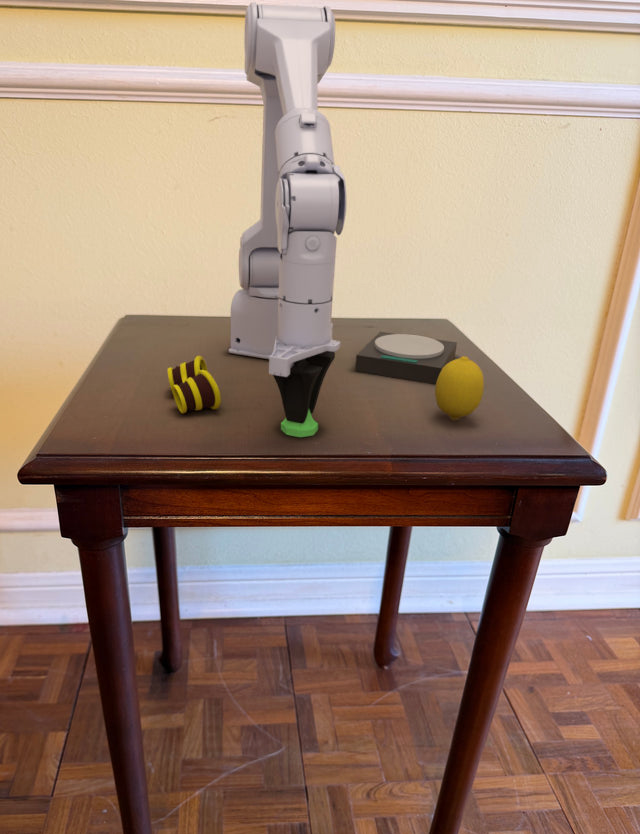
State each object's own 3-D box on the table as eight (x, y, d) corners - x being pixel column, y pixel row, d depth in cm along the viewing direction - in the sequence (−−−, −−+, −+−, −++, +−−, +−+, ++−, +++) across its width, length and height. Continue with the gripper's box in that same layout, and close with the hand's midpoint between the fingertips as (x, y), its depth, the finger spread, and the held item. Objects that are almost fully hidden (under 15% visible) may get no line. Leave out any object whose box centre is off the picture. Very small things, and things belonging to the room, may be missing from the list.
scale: (355, 371, 97) (356, 350, 96) (378, 346, 108) (380, 327, 107) (438, 384, 94) (442, 363, 92) (454, 357, 104) (457, 338, 103)
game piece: (316, 422, 81) (319, 374, 78) (319, 437, 77) (322, 387, 74) (280, 421, 81) (281, 373, 78) (281, 437, 77) (282, 386, 74)
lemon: (478, 431, 80) (490, 366, 76) (430, 426, 81) (440, 361, 77) (476, 413, 85) (487, 351, 81) (431, 409, 86) (440, 347, 82)
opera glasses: (171, 394, 89) (162, 359, 87) (210, 384, 90) (202, 349, 88) (182, 424, 81) (172, 386, 79) (224, 413, 82) (216, 375, 79)
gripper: (318, 319, 64) (311, 448, 71) (361, 288, 76) (351, 401, 83) (250, 309, 67) (249, 435, 73) (302, 281, 79) (297, 391, 85)
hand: (299, 416), depth 78 cm, fingers closed on game piece, 2 cm apart
